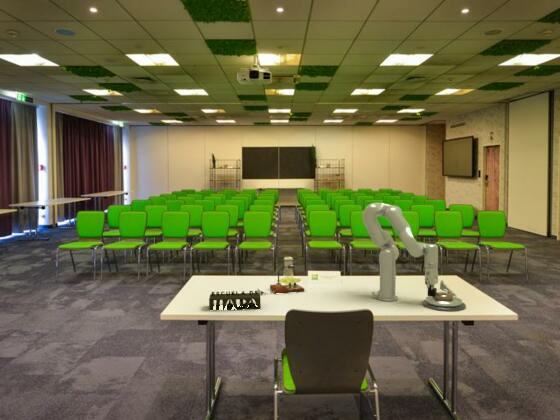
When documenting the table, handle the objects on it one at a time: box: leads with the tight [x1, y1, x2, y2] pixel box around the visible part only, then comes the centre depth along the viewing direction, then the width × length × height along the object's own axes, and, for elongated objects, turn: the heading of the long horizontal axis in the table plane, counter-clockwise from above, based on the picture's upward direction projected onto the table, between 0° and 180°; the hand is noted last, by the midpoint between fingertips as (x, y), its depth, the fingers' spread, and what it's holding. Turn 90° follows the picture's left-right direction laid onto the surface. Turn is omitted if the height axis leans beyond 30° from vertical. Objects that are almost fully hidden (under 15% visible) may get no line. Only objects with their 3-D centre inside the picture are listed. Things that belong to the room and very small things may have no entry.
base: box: [421, 291, 466, 312], centre depth 281 cm, size 24×24×6 cm
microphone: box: [257, 264, 305, 296], centre depth 318 cm, size 14×30×18 cm, turn 109°
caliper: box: [439, 279, 457, 297], centre depth 312 cm, size 20×1×6 cm, turn 8°
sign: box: [208, 290, 261, 311], centre depth 280 cm, size 29×11×10 cm, turn 95°
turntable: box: [425, 287, 463, 308], centre depth 281 cm, size 20×20×7 cm
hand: (430, 295), depth 286 cm, fingers closed
